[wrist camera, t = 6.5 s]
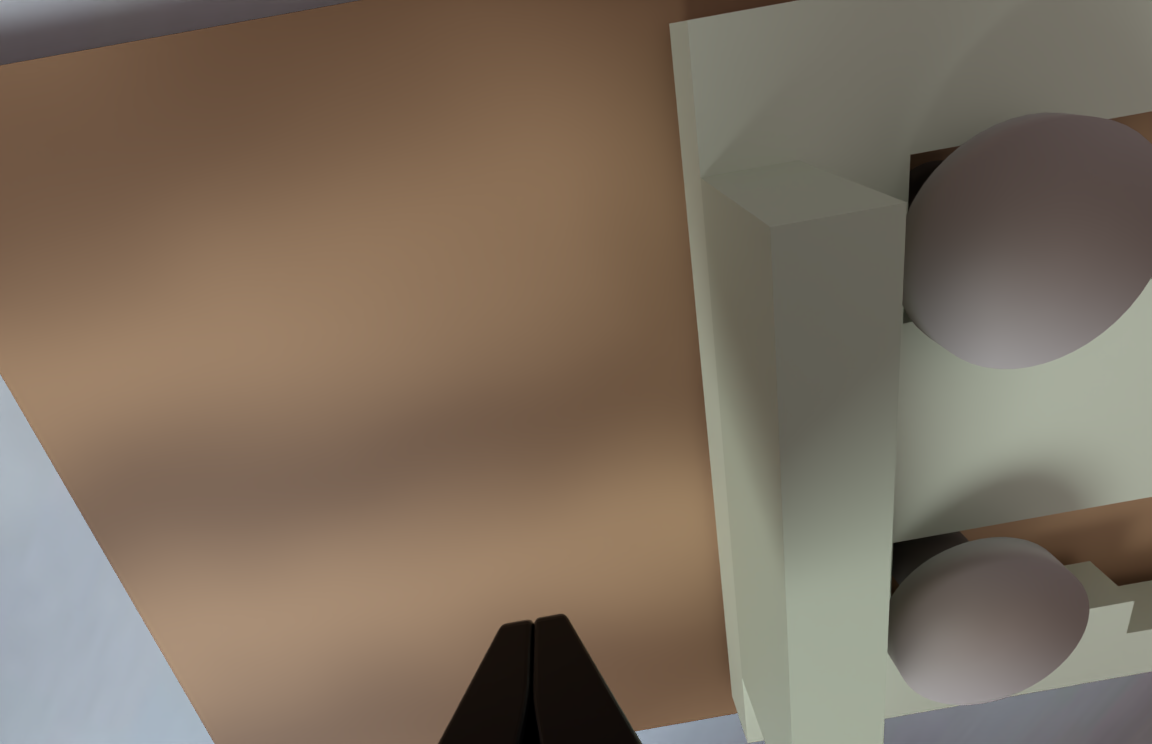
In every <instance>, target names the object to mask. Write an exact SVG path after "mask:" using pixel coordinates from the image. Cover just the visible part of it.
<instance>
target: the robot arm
mask: <svg viewBox="0 0 1152 744" xmlns="http://www.w3.org/2000/svg"><path fill="white" fill-rule="evenodd" d="M438 744H642V743H641V741H640V739H639V738H638V736H637V734H636V733H635V731H634V729H633V728H632V726H631V724H630V722H629V721H628V719H627V717H626V716H625V714H624V712H623V711H622V709H621V707H620V705H619V704H618V702H617V700H616V699H615V697H614V695H613V693H612V692H611V690H610V688H609V687H608V685H607V683H606V682H605V680H604V678H603V676H602V675H601V673H600V671H599V670H598V668H597V666H596V664H595V663H594V661H593V659H592V658H591V656H590V654H589V653H588V651H587V649H586V647H585V646H584V644H583V642H582V641H581V639H580V637H579V636H578V634H577V632H576V630H575V629H574V627H573V625H572V624H571V622H570V620H569V619H568V617H567V616H566V615H565V614H555V615H550V616H544V617H539V618H537V619H536V620H535V622H534V623H533V621H531V620H522V621H516V622H510V623H505V624H503V625H502V626H501V627H500V628H499V630H498V631H497V633H496V635H495V637H494V639H493V641H492V643H491V645H490V647H489V648H488V650H487V652H486V654H485V656H484V658H483V660H482V662H481V663H480V665H479V667H478V669H477V671H476V673H475V675H474V677H473V679H472V680H471V682H470V684H469V686H468V688H467V690H466V692H465V694H464V695H463V697H462V699H461V701H460V703H459V705H458V707H457V709H456V711H455V712H454V714H453V716H452V718H451V720H450V722H449V724H448V726H447V727H446V729H445V731H444V733H443V735H442V737H441V739H440V741H439V743H438Z"/></svg>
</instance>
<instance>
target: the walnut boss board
mask: <svg viewBox="0 0 1152 744" xmlns="http://www.w3.org/2000/svg"><path fill="white" fill-rule="evenodd" d="M792 1H797V0H359V1H353V2H348V3H342V4H337V5H331V6H326V7H320V8H315V9H309V10H304V11H298V12H293V13H287V14H282V15H276V16H271V17H265V18H259V19H254V20H248V21H243V22H237V23H232V24H226V25H221V26H215V27H210V28H204V29H199V30H193V31H188V32H182V33H177V34H171V35H165V36H160V37H154V38H149V39H143V40H138V41H132V42H127V43H121V44H116V45H110V46H105V47H99V48H94V49H88V50H83V51H77V52H72V53H66V54H60V55H55V56H49V57H44V58H38V59H33V60H27V61H22V62H16V63H11V64H5V65H0V374H1V376H2V378H3V379H4V381H5V383H6V384H7V386H8V388H9V390H10V391H11V393H12V395H13V397H14V398H15V400H16V402H17V403H18V405H19V407H20V409H21V410H22V412H23V414H24V416H25V417H26V419H27V421H28V422H29V424H30V426H31V428H32V429H33V431H34V433H35V435H36V436H37V438H38V440H39V441H40V443H41V445H42V447H43V448H44V450H45V452H46V453H47V455H48V457H49V459H50V460H51V462H52V464H53V466H54V467H55V469H56V471H57V472H58V474H59V476H60V478H61V479H62V481H63V483H64V485H65V486H66V488H67V490H68V491H69V493H70V495H71V497H72V498H73V500H74V502H75V504H76V505H77V507H78V509H79V510H80V512H81V514H82V516H83V517H84V519H85V521H86V523H87V524H88V526H89V528H90V529H91V531H92V533H93V535H94V536H95V538H96V540H97V541H98V543H99V545H100V547H101V548H102V550H103V552H104V554H105V555H106V557H107V559H108V560H109V562H110V564H111V566H112V567H113V569H114V571H115V573H116V574H117V576H118V578H119V579H120V581H121V583H122V585H123V586H124V588H125V590H126V592H127V593H128V595H129V597H130V598H131V600H132V602H133V604H134V605H135V607H136V609H137V611H138V612H139V614H140V616H141V617H142V619H143V621H144V623H145V624H146V626H147V628H148V629H149V631H150V633H151V635H152V636H153V638H154V640H155V642H156V643H157V645H158V647H159V648H160V650H161V652H162V654H163V655H164V657H165V659H166V661H167V662H168V664H169V666H170V667H171V669H172V671H173V673H174V674H175V676H176V678H177V680H178V681H179V683H180V685H181V686H182V688H183V690H184V692H185V693H186V695H187V697H188V698H189V700H190V702H191V704H192V705H193V707H194V709H195V711H196V712H197V714H198V716H199V717H200V719H201V721H202V723H203V724H204V726H205V728H206V730H207V731H208V733H209V735H210V736H211V738H212V740H213V742H214V743H215V744H438V743H439V741H440V739H441V737H442V735H443V733H444V731H445V729H446V727H447V726H448V724H449V722H450V720H451V718H452V716H453V714H454V712H455V711H456V709H457V707H458V705H459V703H460V701H461V699H462V697H463V695H464V694H465V692H466V690H467V688H468V686H469V684H470V682H471V680H472V679H473V677H474V675H475V673H476V671H477V669H478V667H479V665H480V663H481V662H482V660H483V658H484V656H485V654H486V652H487V650H488V648H489V647H490V645H491V643H492V641H493V639H494V637H495V635H496V633H497V631H498V630H499V628H500V627H501V626H502V625H503V624H505V623H510V622H516V621H522V620H531V621H533V623H534V622H535V620H536V619H537V618H539V617H544V616H550V615H555V614H565V615H566V616H567V617H568V619H569V620H570V622H571V624H572V625H573V627H574V629H575V630H576V632H577V634H578V636H579V637H580V639H581V641H582V642H583V644H584V646H585V647H586V649H587V651H588V653H589V654H590V656H591V658H592V659H593V661H594V663H595V664H596V666H597V668H598V670H599V671H600V673H601V675H602V676H603V678H604V680H605V682H606V683H607V685H608V687H609V688H610V690H611V692H612V693H613V695H614V697H615V699H616V700H617V702H618V704H619V705H620V707H621V709H622V711H623V712H624V714H625V716H626V717H627V719H628V721H629V722H630V724H631V726H632V728H633V729H634V731H640V730H645V729H651V728H657V727H662V726H668V725H674V724H679V723H685V722H690V721H696V720H702V719H707V718H713V717H719V716H724V715H730V714H736V713H737V710H736V706H735V703H734V700H733V697H732V690H731V679H730V669H729V658H728V647H727V637H726V626H725V615H724V604H723V594H722V583H721V572H720V562H719V551H718V540H717V530H716V519H715V508H714V498H713V487H712V476H711V466H710V455H709V444H708V433H707V423H706V412H705V401H704V391H703V380H702V369H701V359H700V348H699V337H698V327H697V316H696V305H695V294H694V284H693V273H692V262H691V252H690V241H689V230H688V220H687V209H686V198H685V188H684V177H683V166H682V156H681V145H680V134H679V123H678V113H677V102H676V91H675V81H674V70H673V59H672V49H671V38H670V27H669V24H670V23H676V22H681V21H686V20H692V19H697V18H703V17H708V16H714V15H720V14H725V13H731V12H736V11H742V10H747V9H753V8H758V7H764V6H769V5H775V4H780V3H786V2H792ZM1151 277H1152V111H1150V112H1145V113H1139V114H1134V115H1128V116H1123V117H1117V118H1111V119H1104V118H1099V117H1092V116H1083V115H1075V114H1066V113H1046V112H1045V113H1036V114H1028V115H1024V116H1020V117H1016V118H1012V119H1009V120H1007V121H1004V122H1001V123H999V124H996V125H994V126H992V127H990V128H988V129H986V130H984V131H982V132H980V133H978V134H977V135H975V136H974V137H972V138H971V139H969V140H968V141H967V142H965V143H964V144H962V145H961V146H956V147H950V148H945V149H939V150H934V151H928V152H922V153H917V154H911V155H910V175H909V198H908V212H907V214H906V232H905V255H904V278H903V301H902V305H903V307H904V309H905V311H906V313H907V314H908V316H909V318H910V319H911V320H912V321H913V323H914V324H915V325H916V327H918V328H919V329H920V330H921V331H922V332H923V333H924V334H925V335H926V336H928V337H929V338H931V339H932V340H933V341H935V342H936V343H938V344H939V345H941V346H942V347H944V348H945V349H946V350H948V351H949V352H951V353H952V354H954V355H955V356H957V357H958V358H960V359H962V360H965V361H967V362H969V363H971V364H975V365H978V366H982V367H987V368H994V369H1018V368H1026V367H1032V366H1036V365H1040V364H1044V363H1047V362H1050V361H1053V360H1056V359H1058V358H1061V357H1063V356H1065V355H1067V354H1069V353H1072V352H1074V351H1076V350H1077V349H1079V348H1081V347H1082V346H1084V345H1086V344H1088V343H1089V342H1091V341H1092V340H1093V339H1095V338H1096V337H1098V336H1099V335H1100V334H1102V333H1103V332H1104V331H1106V330H1107V329H1108V328H1109V327H1110V326H1111V325H1113V324H1114V323H1115V322H1116V321H1117V320H1118V319H1119V318H1120V317H1121V316H1122V315H1123V314H1124V313H1125V312H1126V311H1127V310H1128V309H1129V308H1130V307H1131V305H1132V304H1133V303H1134V302H1135V300H1136V299H1137V298H1138V297H1139V295H1140V294H1141V293H1142V291H1143V290H1144V288H1145V287H1146V285H1147V284H1148V282H1149V281H1150V279H1151ZM1087 561H1091V562H1092V563H1093V564H1094V565H1095V566H1096V567H1097V568H1098V569H1099V570H1101V571H1102V572H1103V573H1104V574H1105V575H1106V576H1107V577H1108V578H1110V579H1111V580H1112V581H1113V582H1114V583H1115V584H1116V585H1117V586H1122V585H1128V584H1133V583H1139V582H1145V581H1150V580H1152V497H1148V498H1142V499H1137V500H1131V501H1125V502H1120V503H1114V504H1109V505H1103V506H1097V507H1092V508H1086V509H1081V510H1075V511H1069V512H1064V513H1058V514H1052V515H1047V516H1041V517H1036V518H1030V519H1024V520H1019V521H1013V522H1008V523H1002V524H996V525H991V526H985V527H980V528H974V529H968V530H963V531H957V532H951V533H946V534H940V535H935V536H929V537H923V538H918V539H912V540H907V541H901V542H895V543H893V560H892V582H891V596H892V597H891V598H890V602H889V625H888V648H887V653H888V654H889V656H890V658H891V659H892V661H893V663H894V664H895V666H896V667H897V669H898V671H899V672H900V674H901V676H902V677H903V679H904V680H905V682H906V683H907V684H908V686H909V687H910V688H912V689H913V690H914V691H915V692H916V693H918V694H919V695H921V696H923V697H925V698H927V699H929V700H932V701H935V702H939V703H944V704H949V705H975V704H982V703H988V702H992V701H996V700H1000V699H1003V698H1006V697H1009V696H1011V695H1014V694H1016V693H1019V692H1021V691H1023V690H1025V689H1027V688H1029V687H1031V686H1033V685H1034V684H1036V683H1038V682H1039V681H1041V680H1042V679H1044V678H1045V677H1047V676H1048V675H1049V674H1051V673H1052V672H1053V671H1054V670H1055V669H1057V668H1058V667H1059V666H1060V665H1061V664H1062V663H1063V662H1064V661H1065V660H1066V659H1067V658H1068V657H1069V656H1070V654H1071V653H1072V652H1073V651H1074V649H1075V648H1076V646H1077V645H1078V643H1079V642H1080V640H1081V638H1082V636H1083V634H1084V632H1085V629H1086V626H1087V623H1088V619H1089V600H1088V596H1087V593H1086V591H1085V589H1084V587H1083V585H1082V584H1081V582H1080V581H1079V580H1078V579H1077V578H1076V577H1075V576H1074V575H1073V574H1072V573H1071V572H1070V571H1069V570H1068V569H1067V568H1066V567H1065V566H1064V565H1070V564H1076V563H1081V562H1087Z"/></svg>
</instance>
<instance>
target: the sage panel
mask: <svg viewBox="0 0 1152 744" xmlns="http://www.w3.org/2000/svg"><path fill="white" fill-rule="evenodd" d="M669 27H670V38H671V49H672V59H673V70H674V81H675V91H676V102H677V113H678V123H679V134H680V145H681V156H682V166H683V177H684V188H685V198H686V209H687V220H688V230H689V241H690V252H691V262H692V273H693V284H694V294H695V305H696V316H697V327H698V337H699V348H700V359H701V369H702V380H703V391H704V401H705V412H706V423H707V433H708V444H709V455H710V466H711V476H712V487H713V498H714V508H715V519H716V530H717V540H718V551H719V562H720V572H721V583H722V594H723V604H724V615H725V626H726V637H727V647H728V658H729V669H730V679H731V690H732V697H733V700H734V703H735V706H736V710H737V713H738V716H739V719H740V722H741V725H742V728H743V731H744V734H745V737H746V740H747V743H752V742H757V741H763V740H764V741H765V744H883V740H884V719H887V718H893V717H898V716H904V715H910V714H915V713H921V712H926V711H932V710H938V709H943V708H949V707H955V706H960V705H949V704H944V703H939V702H935V701H932V700H929V699H927V698H925V697H923V696H921V695H919V694H918V693H916V692H915V691H914V690H913V689H912V688H910V687H909V686H908V684H907V683H906V682H905V680H904V679H903V677H902V676H901V674H900V672H899V671H898V669H897V667H896V666H895V664H894V663H893V661H892V659H891V658H890V656H889V654H888V653H887V648H888V625H889V602H890V598H891V597H892V596H891V582H892V560H893V543H895V542H901V541H907V540H912V539H918V538H923V537H929V536H935V535H940V534H946V533H951V532H957V531H963V530H968V529H974V528H980V527H985V526H991V525H996V524H1002V523H1008V522H1013V521H1019V520H1024V519H1030V518H1036V517H1041V516H1047V515H1052V514H1058V513H1064V512H1069V511H1075V510H1081V509H1086V508H1092V507H1097V506H1103V505H1109V504H1114V503H1120V502H1125V501H1131V500H1137V499H1142V498H1148V497H1152V277H1151V279H1150V281H1149V282H1148V284H1147V285H1146V287H1145V288H1144V290H1143V291H1142V293H1141V294H1140V295H1139V297H1138V298H1137V299H1136V300H1135V302H1134V303H1133V304H1132V305H1131V307H1130V308H1129V309H1128V310H1127V311H1126V312H1125V313H1124V314H1123V315H1122V316H1121V317H1120V318H1119V319H1118V320H1117V321H1116V322H1115V323H1114V324H1113V325H1111V326H1110V327H1109V328H1108V329H1107V330H1106V331H1104V332H1103V333H1102V334H1100V335H1099V336H1098V337H1096V338H1095V339H1093V340H1092V341H1091V342H1089V343H1088V344H1086V345H1084V346H1082V347H1081V348H1079V349H1077V350H1076V351H1074V352H1072V353H1069V354H1067V355H1065V356H1063V357H1061V358H1058V359H1056V360H1053V361H1050V362H1047V363H1044V364H1040V365H1036V366H1032V367H1026V368H1018V369H994V368H987V367H982V366H978V365H975V364H971V363H969V362H967V361H965V360H962V359H960V358H958V357H957V356H955V355H954V354H952V353H951V352H949V351H948V350H946V349H945V348H944V347H942V346H941V345H939V344H938V343H936V342H935V341H933V340H932V339H931V338H929V337H928V336H926V335H925V334H924V333H923V332H922V331H921V330H920V329H919V328H918V327H916V325H915V324H914V323H913V321H912V320H911V319H910V318H909V316H908V314H907V313H906V311H905V309H904V307H903V305H902V301H903V278H904V255H905V232H906V214H907V212H908V198H909V175H910V155H911V154H917V153H922V152H928V151H934V150H939V149H945V148H950V147H956V146H961V145H962V144H964V143H965V142H967V141H968V140H969V139H971V138H972V137H974V136H975V135H977V134H978V133H980V132H982V131H984V130H986V129H988V128H990V127H992V126H994V125H996V124H999V123H1001V122H1004V121H1007V120H1009V119H1012V118H1016V117H1020V116H1024V115H1028V114H1036V113H1045V112H1046V113H1066V114H1075V115H1083V116H1092V117H1099V118H1104V119H1111V118H1117V117H1123V116H1128V115H1134V114H1139V113H1145V112H1150V111H1152V0H797V1H792V2H786V3H780V4H775V5H769V6H764V7H758V8H753V9H747V10H742V11H736V12H731V13H725V14H720V15H714V16H708V17H703V18H697V19H692V20H686V21H681V22H676V23H670V24H669ZM1064 566H1065V567H1066V568H1067V569H1068V570H1069V571H1070V572H1071V573H1072V574H1073V575H1074V576H1075V577H1076V578H1077V579H1078V580H1079V581H1080V582H1081V584H1082V585H1083V587H1084V589H1085V591H1086V593H1087V596H1088V600H1089V619H1088V623H1087V626H1086V629H1085V632H1084V634H1083V636H1082V638H1081V640H1080V642H1079V643H1078V645H1077V646H1076V648H1075V649H1074V651H1073V652H1072V653H1071V654H1070V656H1069V657H1068V658H1067V659H1066V660H1065V661H1064V662H1063V663H1062V664H1061V665H1060V666H1059V667H1058V668H1057V669H1055V670H1054V671H1053V672H1052V673H1051V674H1049V675H1048V676H1047V677H1045V678H1044V679H1042V680H1041V681H1039V682H1038V683H1036V684H1034V685H1033V686H1031V687H1029V688H1027V689H1025V690H1023V691H1021V692H1019V693H1016V694H1014V695H1011V696H1017V695H1022V694H1028V693H1033V692H1039V691H1045V690H1050V689H1056V688H1062V687H1067V686H1073V685H1079V684H1084V683H1090V682H1095V681H1101V680H1107V679H1112V678H1118V677H1124V676H1129V675H1135V674H1140V673H1146V672H1152V580H1150V581H1145V582H1139V583H1133V584H1128V585H1122V586H1117V585H1116V584H1115V583H1114V582H1113V581H1112V580H1111V579H1110V578H1108V577H1107V576H1106V575H1105V574H1104V573H1103V572H1102V571H1101V570H1099V569H1098V568H1097V567H1096V566H1095V565H1094V564H1093V563H1092V562H1091V561H1087V562H1081V563H1076V564H1070V565H1064ZM1011 696H1009V697H1011Z"/></svg>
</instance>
